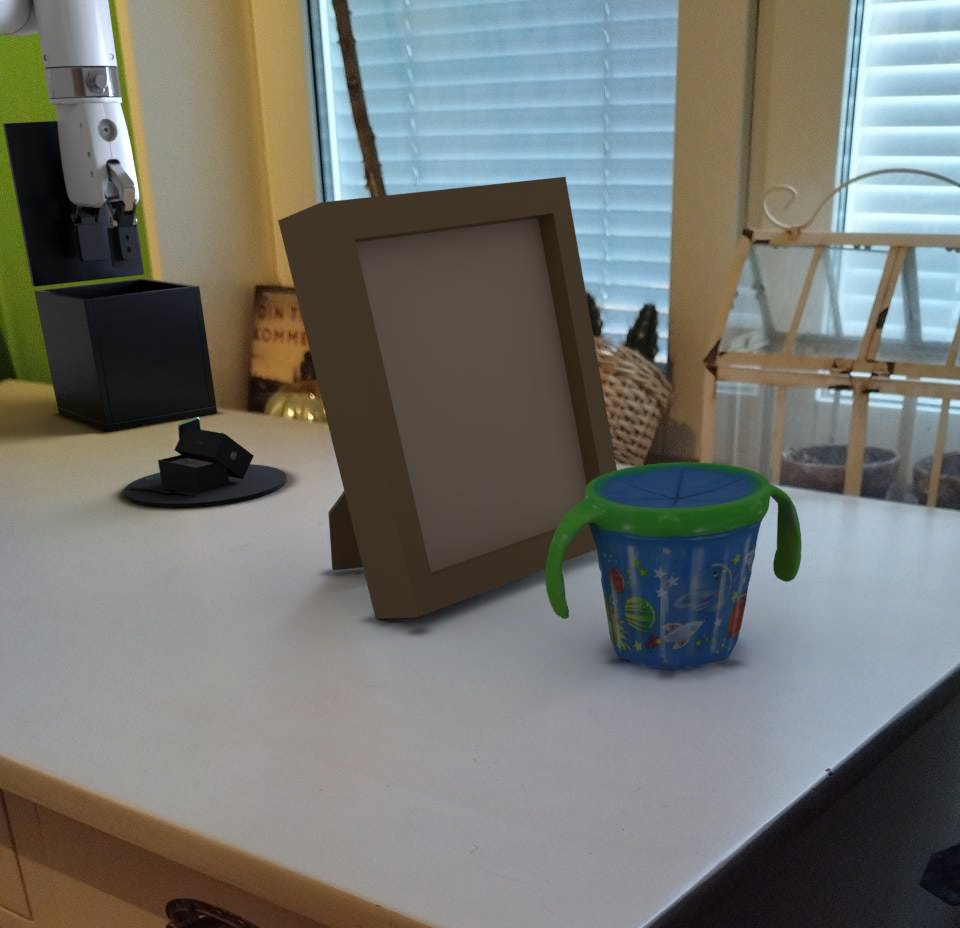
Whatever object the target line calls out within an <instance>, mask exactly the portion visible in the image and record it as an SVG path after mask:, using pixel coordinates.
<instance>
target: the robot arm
mask: <svg viewBox="0 0 960 928" xmlns="http://www.w3.org/2000/svg"><path fill="white" fill-rule="evenodd" d="M35 34H38V39H39V46H40V52H41V57H42V64H43V68H44V69H43V70H44V76H45V83H46V89H47V94H48V101H49V105H50V106H51V105H52V106H53V105H54V106H55V110H56V121H57V124H58V135H59V144H60V152H61V160H62V167H63V174H64V180H65V185H66V190H67V194H68V197H69V199H68V201H69V202H68V203H69V205H70V207H71V209H72V213H71V217H72V221H73V223H78V224H74V230H75V236H76V242H77V249H78V255H79V260H80V261H81V262H96V261H105V260H107V251H106V244H105V238H104V231H103V224H102V222H98V219H99V212H100V208H101V207H102V208H103V210H104V213H105V215H106V217H107V220H108V222H109V224H110V227H111V228H107V233H108V240H109V247H110V254H111V260H112V266H113V267H114V268H129V267H139V266H141V256H140V248H139V241H138V234H137V227H136V226H138V218H137V215H136V216H135V211H136V210H137V207H138V206H137V204H138V203H139V201H140V189H139V184H138V179H137V173H136V167H135V160H134V156H133V150H132V145H131V140H130V134H129V131H128V126H127V123H126V119H125V115H124V111H123V108H122V105H121V104H123V99H122V97H123V96H122V91H121V90H122V89H121V83H120V77H119V76H120V75H119V69H118V61H117V54H116V53H117V52H116V47H115V39H114V33H113V26H112V18H111V11H110V4H109V0H0V35H2V36H13V37H25V36H30V35H35ZM90 207H91V209H90ZM113 209H116V210H115V213H114V211H113Z"/></svg>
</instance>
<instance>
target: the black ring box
mask: <svg viewBox="0 0 960 928" xmlns="http://www.w3.org/2000/svg"><path fill="white" fill-rule="evenodd" d="M177 434H178V441H177V443H176V445H175V448H174V449H173V450H174V451H175V452H176V453H178V455H174V456H170V457H165V458H162V459H158V460H157V463H158V469H159V472H156V473H153V474H148V475H146V476H143V477H140V478H138V479H136V480H133V481H132V482H129V483H128V484H127V485H125V487H124V488H123V494H124V498H125V499H126V500H128V501H129V502H131V503H134V504H138V505H142V506H148V507H158V508H197V507H208V506H218V505H225V504H231V503H236V502H241V501H246V500H247V501H248V500H252V499H255V498H259V497H262V496H266V495H268V494H270V493H273V492H275V491H277V490H280V489H281V488H282V487H283V486H285V484H287V481H288V478H287V473H286V472H285V471H284V470H281V469H279V468H277V467H273V466H268V465H262V464H254V463H253V464H252V461H253V459H254V457H255V455H254V454H252V453H251V452H249V450H247V449H246V448H244V447H243V446H242V445H241V444H239V443H238V442H236V441H235V440H234V439H232V437H230V436H229V435H227V434H226V433H224V432H218V431H212V430H206V429H202V425H201V419H200V418H199V416H198V417H192V418H189V419H188V420H185V421H182V422H180V423H178V424H177Z"/></svg>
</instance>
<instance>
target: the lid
mask: <svg viewBox="0 0 960 928" xmlns="http://www.w3.org/2000/svg"><path fill="white" fill-rule="evenodd" d="M2 127H3V133H4V138H5V143H6V150H7V155H8V161H9V166H10V167H9V168H10V171H11V177H12V182H13V189H14V193H15V199H16V205H17V210H18V211H17V212H18V216H19V222H20V227H21V233H22V238H23V243H24V249H25V254H26V260H27V266H28V271H29V276H30V281H31V286H32V287H35V288H37V287H44V286H53V285H55V286H56V285H62V284H63V285H64V284H71V283H81V282H82V283H83V282H89V281H98V280H107V279H116V278H125V277H134V276H143V275H145V270H144V263H143V256H142V255H143V254H142V248H141V241H140V233H139V226H138V225H137V226H136V227H137V234H138V241H139V248H140V256H141V266H139V267H129V268H114V267H113V266H112V260H111V254H110V247H109V240H108V233H107V228H111V227H110V224H109V222H108V220H107V217H106V215H105V213H104V210H103V208H102V207H101V208H100V212H99V219H98V222H102V224H103V231H104V238H105V244H106V251H107V260H105V261H96V262H81V261H80V260H79V255H78V249H77V242H76V236H75V230H74V224H78V223H73V221H72V217H71V213H72V209H71V207H70V205H69V203H68V202H69V201H68V199H69V197H68V194H67V190H66V185H65V180H64V174H63V167H62V160H61V152H60V144H59V135H58V124H57V120H42V121H40V120H39V121H20V122H19V121H18V122H3V123H2ZM90 209H91V207H90ZM115 210H116V209H113V211H114V213H115ZM135 216H136V217H137V212H136V211H135Z"/></svg>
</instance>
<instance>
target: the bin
mask: <svg viewBox="0 0 960 928" xmlns="http://www.w3.org/2000/svg"><path fill="white" fill-rule="evenodd" d="M33 292H34V296H35V297H34V298H35V303H36V307H37V312H38V316H39V322H40V328H41V332H42V337H43V338H42V339H43V343H44V347H45V353H46V357H47V361H48V367H49V372H50V377H51V378H50V379H51V382H52V388H53V392H54V398H55V402H56V407H57V408H56V409H57V413H58V415H60V416H63V417H66V418H69V419H72V420H75V421H76V422H80V423H82V424H84V425H88V426H90V427H93V428H96V429H98V430H102V431H104V432H106V433H110V432H117V431H122V430H128V429H133V428H139V427H145V426H151V425H157V424H163V423H169V422H175V421H181V420H185V419H193V418H196V417H198V418H199V417H203V416H204V417H205V416H209V415H215V414H218V409H217V401H216V394H215V387H214V380H213V379H214V378H213V373H212V367H211V359H210V352H209V345H208V338H207V330H206V325H205V324H206V323H205V316H204V309H203V301H202V294H201V288H200V286H199V285H192V284H186V283H181V282H172V281H166V280H158V279H151V278H145V277H144V278H135V279H134V278H133V279H125V280H117V281H108V282H107V281H106V282H100V283H90V284H89V283H88V284H82V285H73V286H71V285H70V286H65V287H64V286H63V287H55V288H54V287H53V288H46V289H37V290H36V289H35V290H34V291H33Z"/></svg>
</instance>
